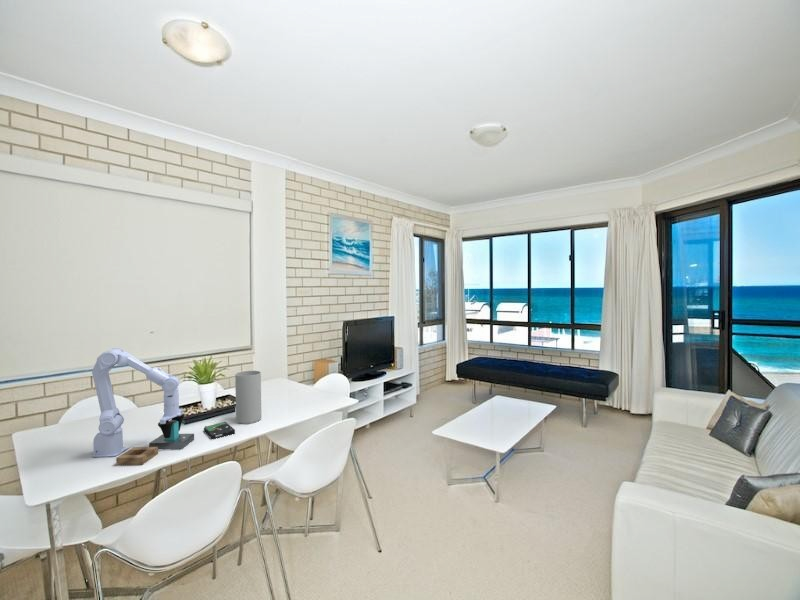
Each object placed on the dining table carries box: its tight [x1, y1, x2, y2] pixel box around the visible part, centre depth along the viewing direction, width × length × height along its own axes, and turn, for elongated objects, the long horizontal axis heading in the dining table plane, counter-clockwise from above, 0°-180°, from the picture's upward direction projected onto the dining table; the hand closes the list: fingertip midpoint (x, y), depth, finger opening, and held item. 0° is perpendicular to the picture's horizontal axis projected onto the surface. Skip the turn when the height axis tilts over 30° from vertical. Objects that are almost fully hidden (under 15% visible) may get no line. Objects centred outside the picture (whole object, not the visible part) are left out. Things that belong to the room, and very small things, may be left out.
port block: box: [148, 433, 195, 450], centre depth 166 cm, size 14×10×3 cm
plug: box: [166, 419, 180, 441], centre depth 166 cm, size 4×4×11 cm
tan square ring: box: [115, 446, 159, 466], centre depth 152 cm, size 10×10×3 cm
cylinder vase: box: [234, 370, 262, 425], centre depth 196 cm, size 12×12×25 cm
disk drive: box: [203, 421, 236, 440], centre depth 180 cm, size 10×3×15 cm
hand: (172, 434), depth 166 cm, fingers open, 7 cm apart
